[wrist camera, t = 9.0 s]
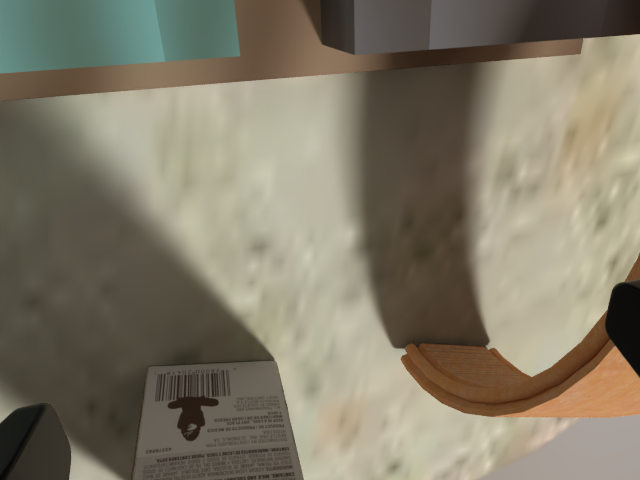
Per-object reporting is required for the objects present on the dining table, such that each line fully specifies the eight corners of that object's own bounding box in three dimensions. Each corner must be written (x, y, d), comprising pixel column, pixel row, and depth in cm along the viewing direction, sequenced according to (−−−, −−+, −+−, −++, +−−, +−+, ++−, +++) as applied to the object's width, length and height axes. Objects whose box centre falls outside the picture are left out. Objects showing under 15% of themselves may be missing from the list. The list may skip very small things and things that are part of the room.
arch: (397, 359, 25) (507, 549, 16) (555, -88, 18) (918, -193, 9) (491, 364, 27) (639, 538, 18) (671, -41, 19) (1071, -88, 10)
